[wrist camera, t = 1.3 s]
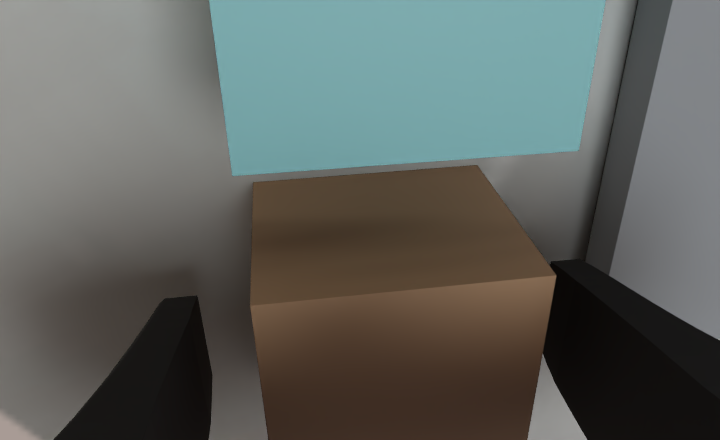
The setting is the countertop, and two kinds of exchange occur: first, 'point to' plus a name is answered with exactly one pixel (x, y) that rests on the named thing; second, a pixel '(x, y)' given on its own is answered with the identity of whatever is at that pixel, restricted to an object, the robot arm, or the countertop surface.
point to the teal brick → (401, 80)
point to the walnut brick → (396, 308)
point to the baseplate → (666, 165)
